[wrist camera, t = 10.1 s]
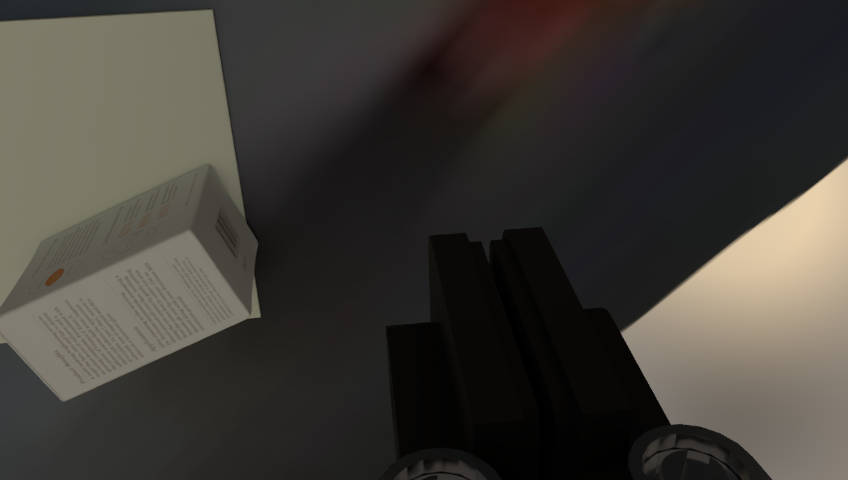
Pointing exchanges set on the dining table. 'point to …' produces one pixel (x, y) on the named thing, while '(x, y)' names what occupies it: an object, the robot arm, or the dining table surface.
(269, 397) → the dining table surface
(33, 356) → the small box
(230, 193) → the mat
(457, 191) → the dining table surface
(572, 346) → the robot arm
